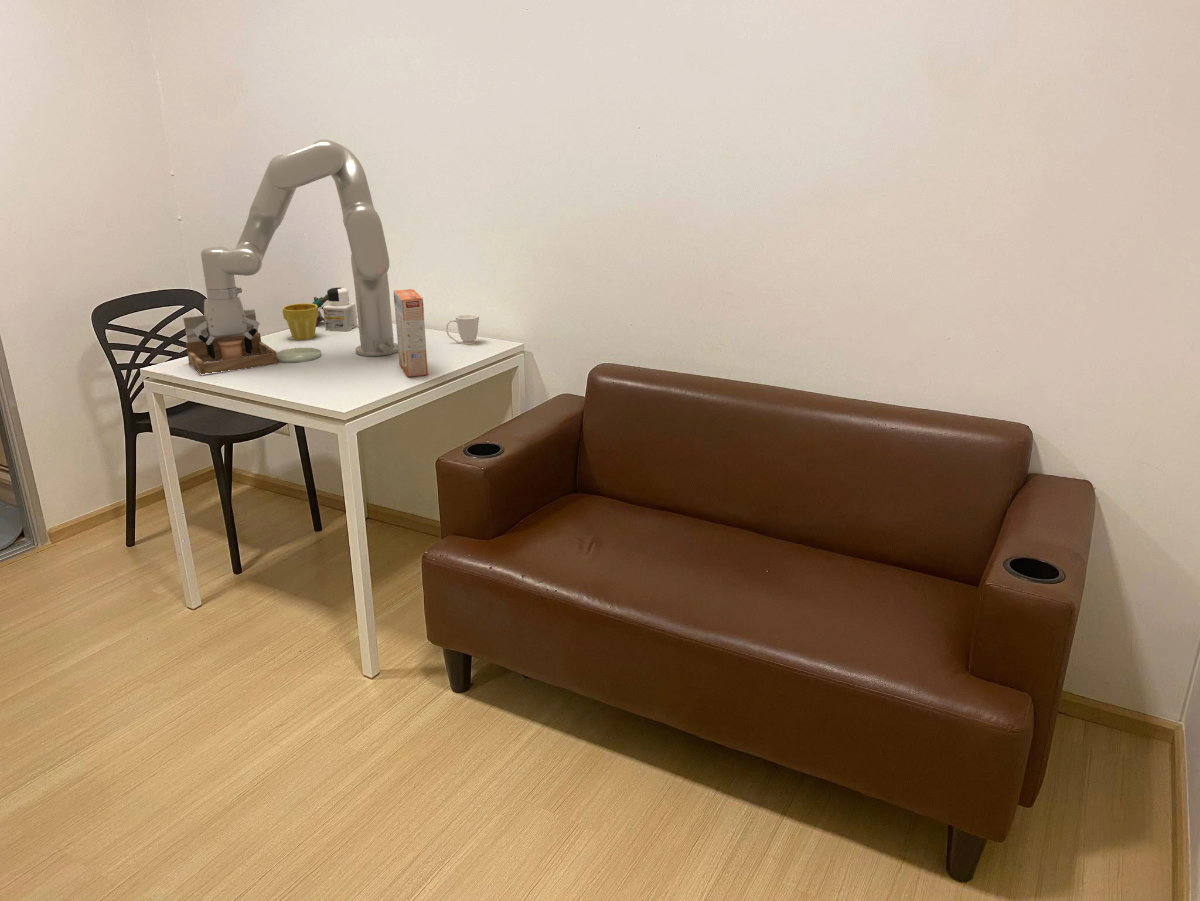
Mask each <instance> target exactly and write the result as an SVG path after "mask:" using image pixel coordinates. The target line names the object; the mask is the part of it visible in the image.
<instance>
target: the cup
mask: <svg viewBox="0 0 1200 901" xmlns="http://www.w3.org/2000/svg"><path fill="white" fill-rule="evenodd" d="M479 320H480V315H477V314H470V313H465V314H458V315H457V316H455V319H451V320H449V321H448V322H447V325H446V334H447V336H448V337H449V338H450V339H451V340H453V341H454V342H456V343H459V344H463V345H475V344H476V343H477V341H476V339H477V336H478V332H479V322H480V321H479ZM452 322H453V323H456V325H457V329H458V330H457V331H458V334H459V337H460V339H461V341H460V340H458V339H456V338H454V337H452V336H451V335H450V334H449V331H448V328H449V325H450V323H452Z"/></svg>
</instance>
